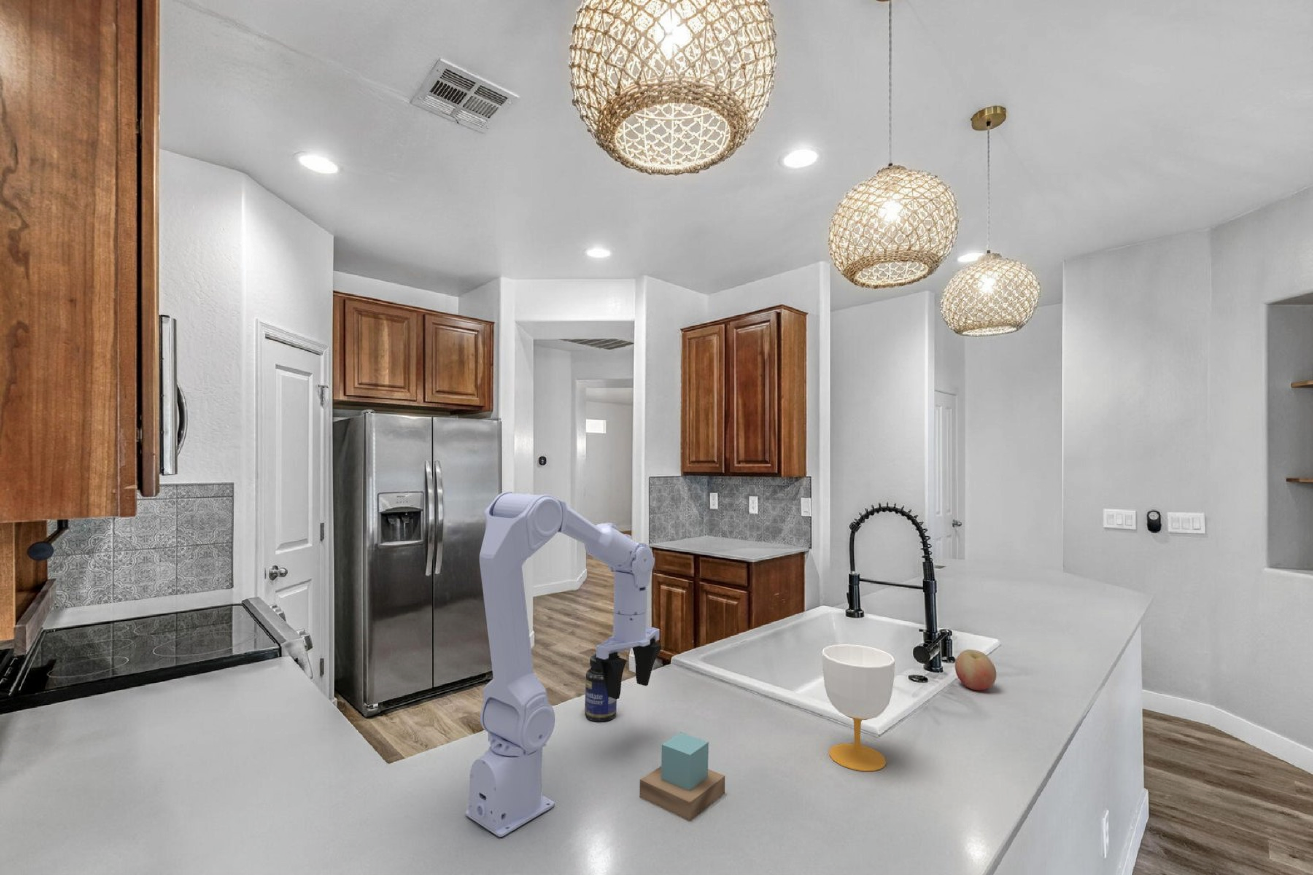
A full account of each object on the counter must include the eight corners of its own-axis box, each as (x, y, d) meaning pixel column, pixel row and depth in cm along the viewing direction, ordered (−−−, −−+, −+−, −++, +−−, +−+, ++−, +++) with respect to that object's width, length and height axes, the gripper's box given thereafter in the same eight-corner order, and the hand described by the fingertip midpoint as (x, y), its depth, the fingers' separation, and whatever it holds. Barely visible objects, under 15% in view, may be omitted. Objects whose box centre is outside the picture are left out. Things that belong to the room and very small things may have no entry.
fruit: (959, 692, 129) (959, 655, 129) (952, 679, 137) (952, 644, 137) (1000, 697, 127) (1000, 659, 127) (990, 683, 134) (990, 648, 135)
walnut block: (689, 824, 81) (690, 802, 81) (639, 800, 86) (639, 779, 86) (724, 796, 88) (725, 775, 88) (676, 775, 93) (676, 756, 93)
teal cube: (689, 790, 84) (690, 754, 84) (661, 779, 87) (661, 744, 87) (707, 776, 88) (708, 741, 88) (679, 765, 91) (680, 732, 91)
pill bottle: (578, 718, 112) (579, 659, 113) (596, 706, 118) (597, 650, 118) (605, 725, 110) (606, 664, 110) (622, 713, 115) (623, 655, 116)
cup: (813, 764, 97) (814, 658, 97) (828, 735, 107) (829, 640, 108) (890, 783, 91) (890, 671, 92) (898, 751, 102) (898, 650, 102)
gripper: (619, 623, 94) (617, 710, 94) (673, 607, 106) (672, 684, 105) (587, 616, 99) (585, 698, 98) (642, 601, 110) (641, 674, 110)
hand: (628, 690), depth 102 cm, fingers open, 7 cm apart
